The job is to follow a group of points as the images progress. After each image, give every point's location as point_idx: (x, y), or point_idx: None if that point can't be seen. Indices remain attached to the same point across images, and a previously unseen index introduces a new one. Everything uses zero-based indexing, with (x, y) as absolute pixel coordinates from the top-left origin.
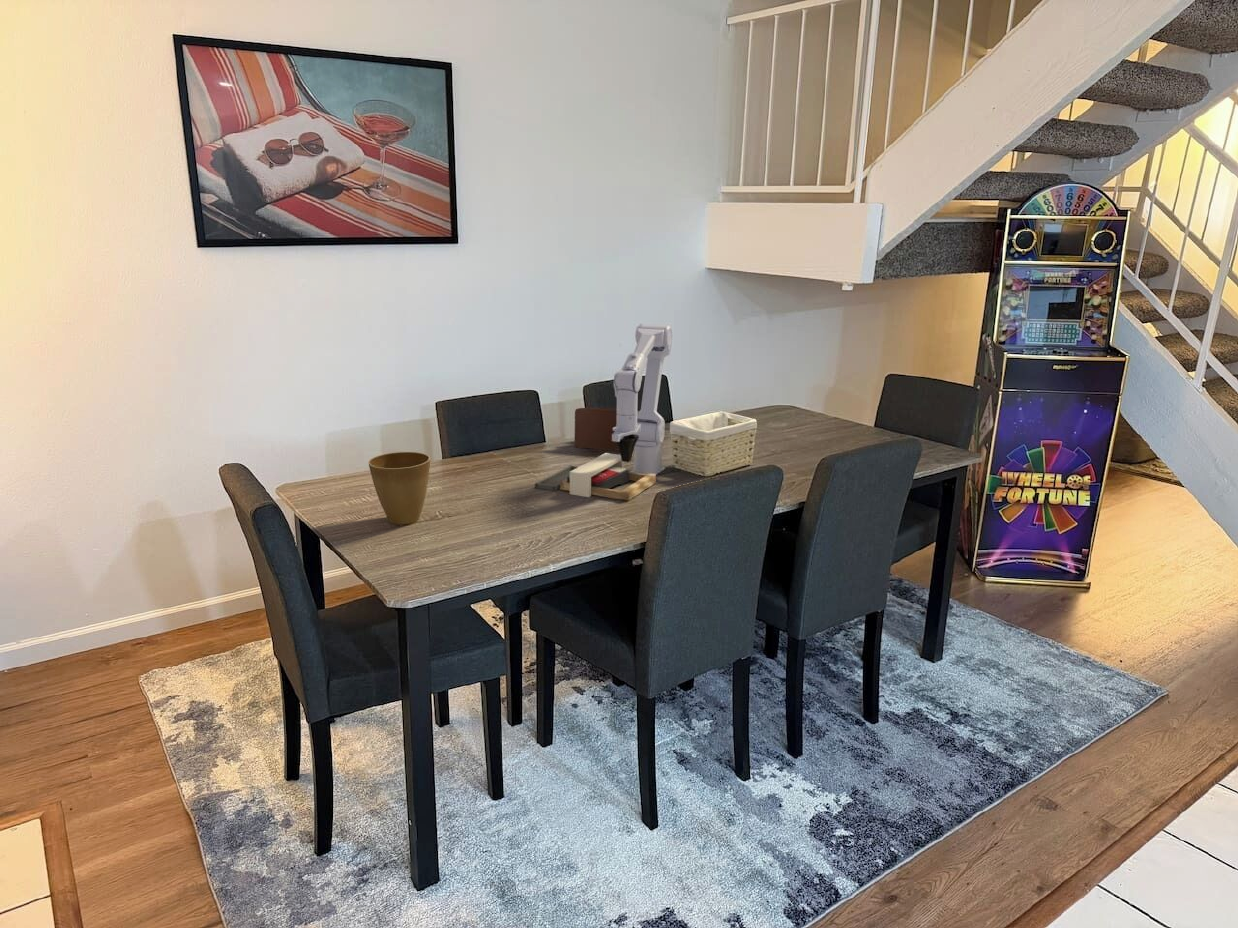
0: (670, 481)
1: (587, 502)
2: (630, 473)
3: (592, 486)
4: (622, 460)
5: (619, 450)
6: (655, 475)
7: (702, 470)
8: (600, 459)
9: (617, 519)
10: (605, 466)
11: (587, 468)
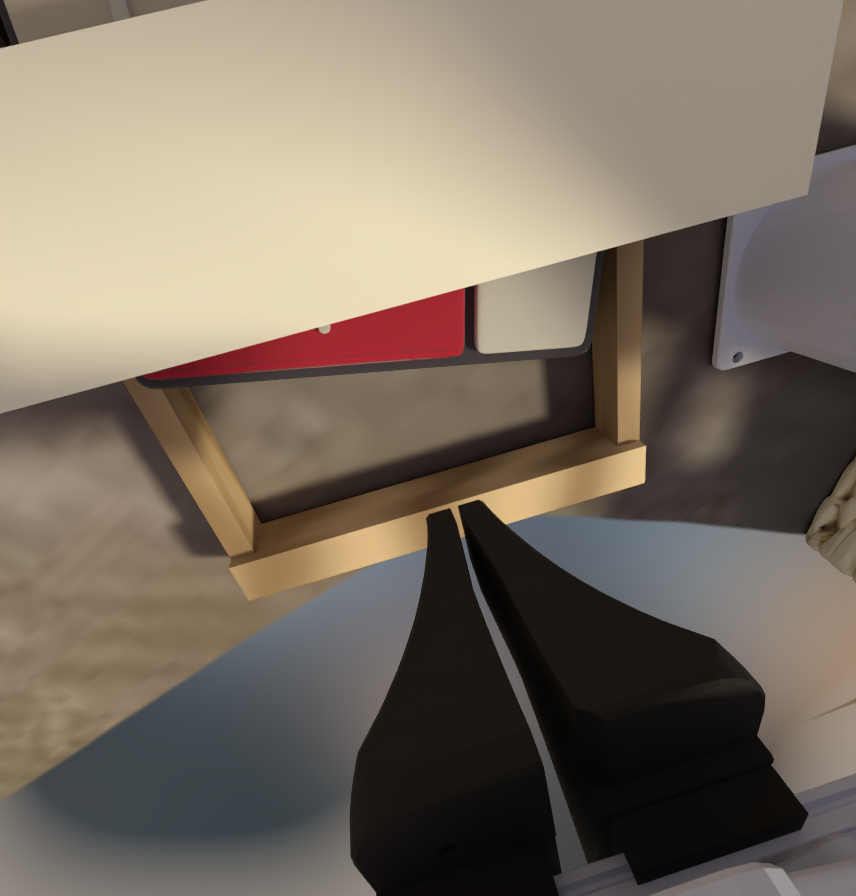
0: (681, 477)
1: (5, 418)
2: (615, 320)
3: None
4: (427, 526)
5: (420, 599)
6: (634, 482)
7: (836, 541)
8: (529, 58)
9: (16, 685)
10: (356, 315)
11: (82, 230)
